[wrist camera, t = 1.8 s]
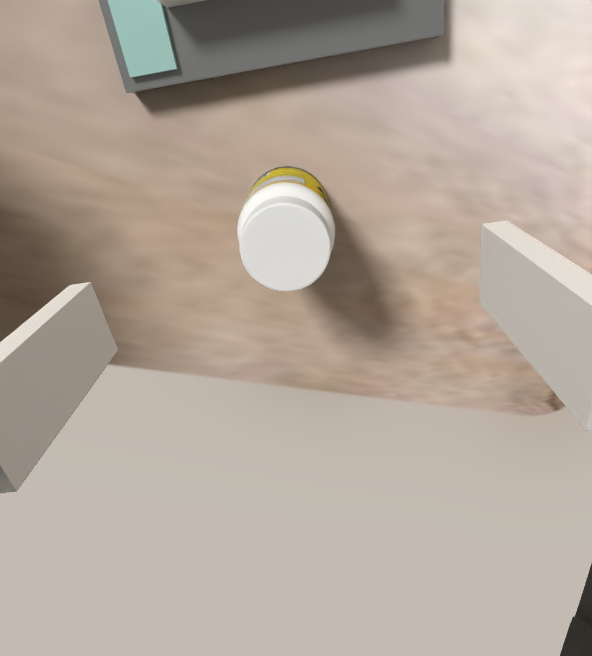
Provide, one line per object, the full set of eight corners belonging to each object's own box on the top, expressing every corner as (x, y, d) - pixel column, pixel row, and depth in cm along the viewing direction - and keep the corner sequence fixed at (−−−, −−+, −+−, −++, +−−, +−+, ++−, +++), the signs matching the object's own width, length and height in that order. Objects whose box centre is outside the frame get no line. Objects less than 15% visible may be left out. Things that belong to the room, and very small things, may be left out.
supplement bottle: (329, 242, 28) (341, 298, 20) (253, 247, 28) (237, 305, 20) (326, 160, 25) (338, 189, 18) (243, 167, 26) (222, 198, 18)
